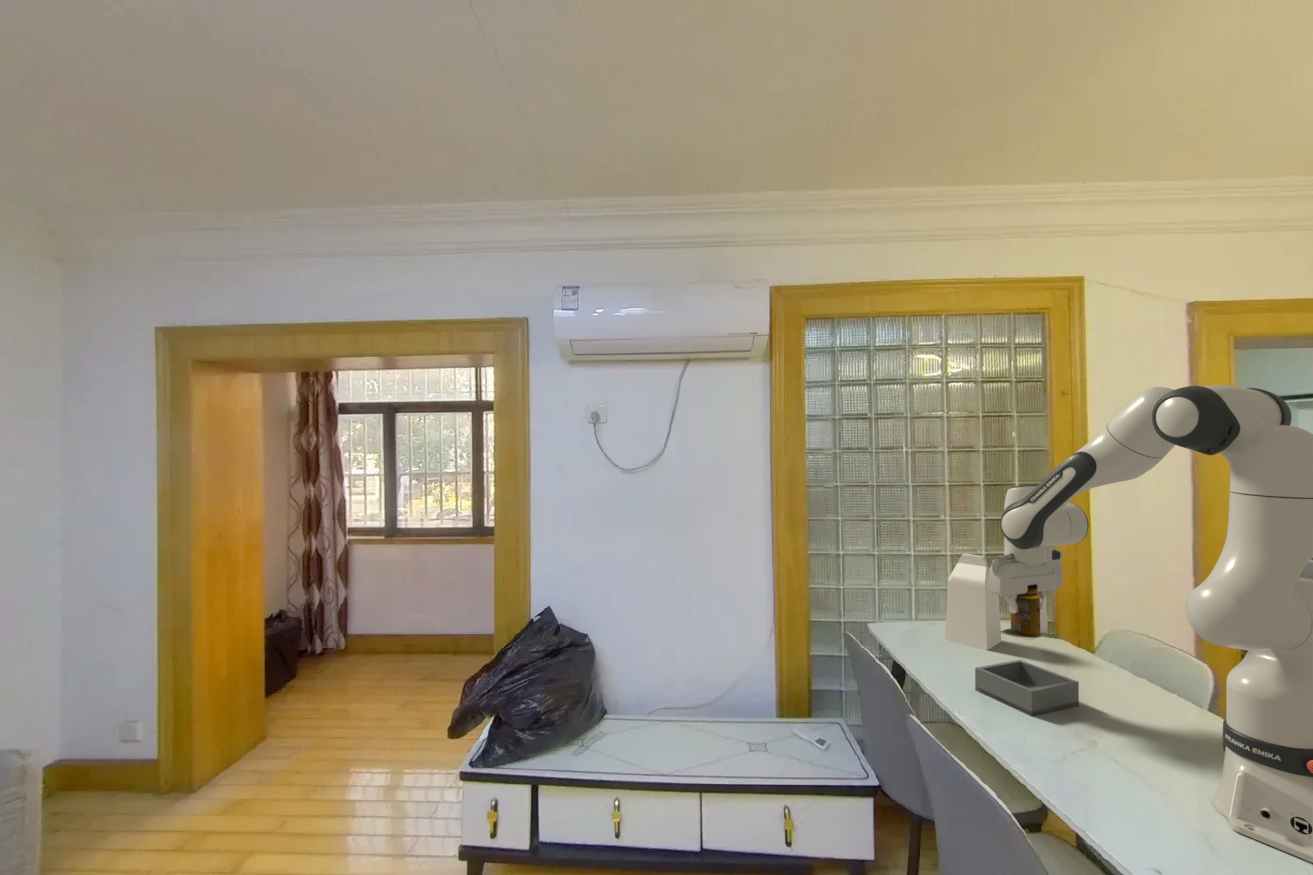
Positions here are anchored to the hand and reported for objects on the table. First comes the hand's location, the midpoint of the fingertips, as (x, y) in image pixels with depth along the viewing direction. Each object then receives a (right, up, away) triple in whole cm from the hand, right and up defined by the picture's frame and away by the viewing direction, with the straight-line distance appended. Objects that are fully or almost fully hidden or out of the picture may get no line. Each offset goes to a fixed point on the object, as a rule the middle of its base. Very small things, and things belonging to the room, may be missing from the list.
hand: (1025, 610), depth 147 cm
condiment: (-1, -6, 0) cm, 6 cm away
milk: (+8, -21, +41) cm, 46 cm away
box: (0, -21, 0) cm, 21 cm away
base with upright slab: (+32, -21, +50) cm, 63 cm away
